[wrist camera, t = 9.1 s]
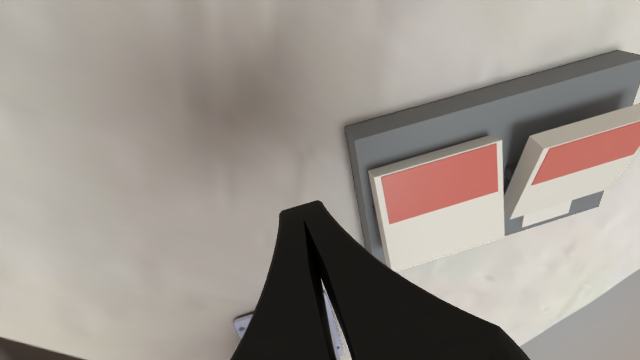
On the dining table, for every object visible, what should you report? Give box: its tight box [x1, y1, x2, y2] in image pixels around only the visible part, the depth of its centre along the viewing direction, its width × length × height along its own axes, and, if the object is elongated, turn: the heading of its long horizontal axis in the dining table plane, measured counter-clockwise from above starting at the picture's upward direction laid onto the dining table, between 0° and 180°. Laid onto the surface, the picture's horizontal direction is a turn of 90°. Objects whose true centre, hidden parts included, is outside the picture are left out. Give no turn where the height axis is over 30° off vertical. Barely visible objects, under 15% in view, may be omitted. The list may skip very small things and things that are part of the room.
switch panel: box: [345, 50, 640, 266], centre depth 24 cm, size 12×19×3 cm, turn 101°
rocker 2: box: [504, 103, 640, 220], centre depth 23 cm, size 7×8×1 cm
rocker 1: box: [368, 135, 505, 272], centre depth 22 cm, size 7×8×1 cm
